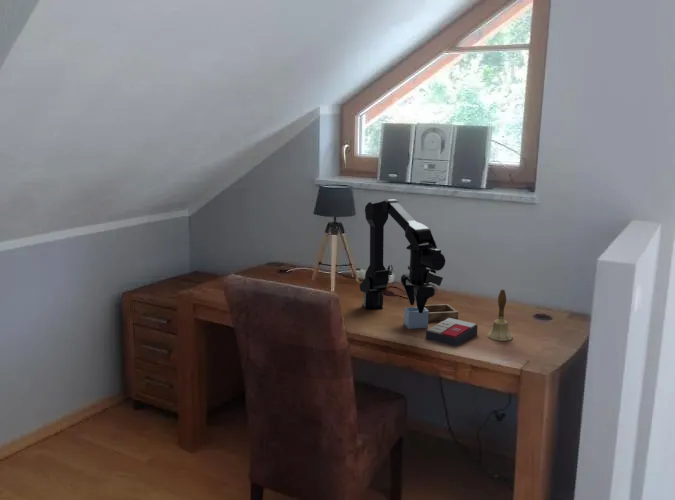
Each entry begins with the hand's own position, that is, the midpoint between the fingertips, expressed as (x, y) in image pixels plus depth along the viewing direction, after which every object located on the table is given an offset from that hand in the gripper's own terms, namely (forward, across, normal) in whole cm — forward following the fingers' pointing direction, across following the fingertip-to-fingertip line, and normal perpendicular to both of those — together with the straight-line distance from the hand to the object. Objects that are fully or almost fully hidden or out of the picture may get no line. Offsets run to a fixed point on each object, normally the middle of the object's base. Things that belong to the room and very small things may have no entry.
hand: (416, 308), depth 226 cm
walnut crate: (+6, +9, -11) cm, 15 cm away
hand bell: (+6, -15, -24) cm, 29 cm away
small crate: (+6, 0, 0) cm, 6 cm away
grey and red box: (+7, -12, -8) cm, 16 cm away
